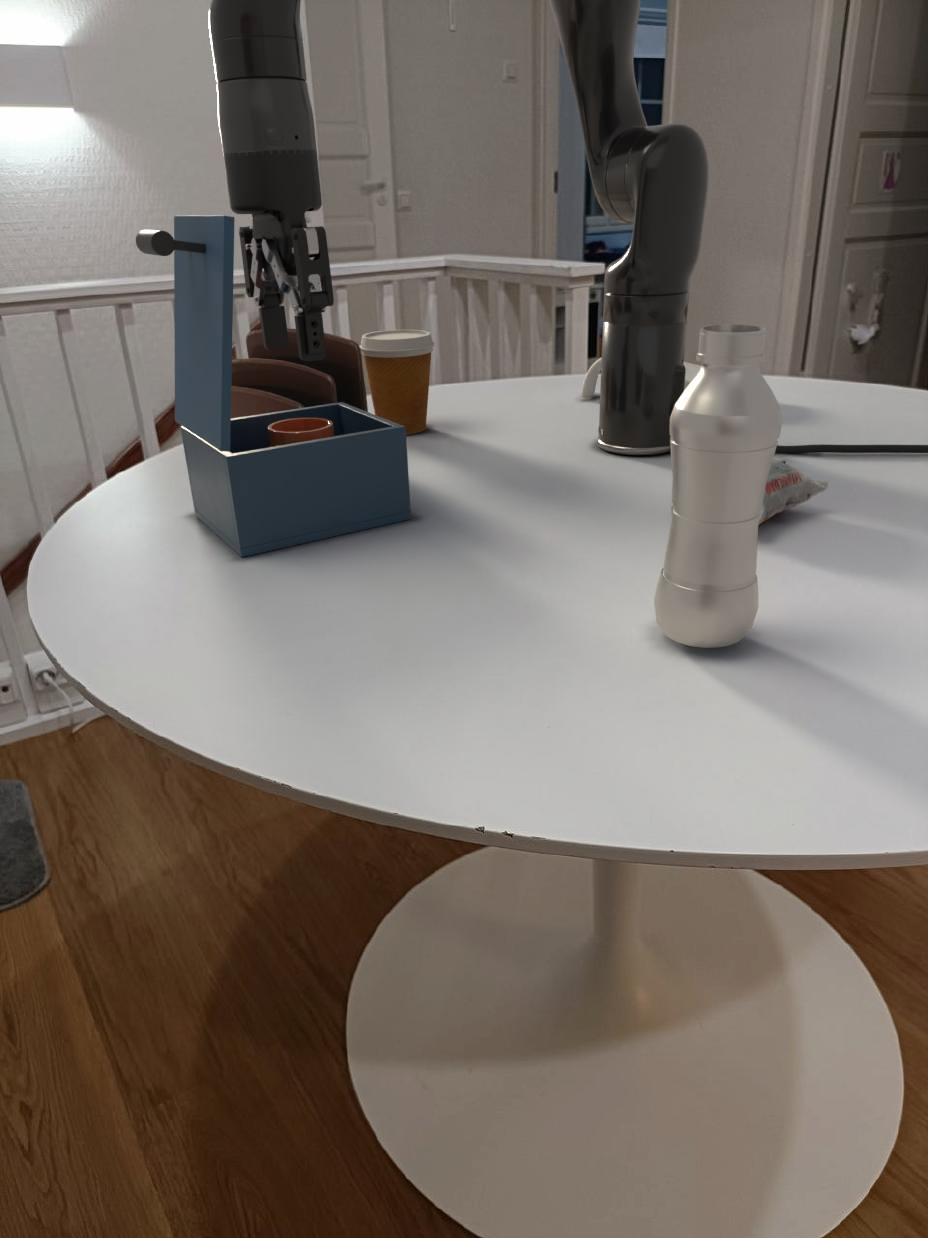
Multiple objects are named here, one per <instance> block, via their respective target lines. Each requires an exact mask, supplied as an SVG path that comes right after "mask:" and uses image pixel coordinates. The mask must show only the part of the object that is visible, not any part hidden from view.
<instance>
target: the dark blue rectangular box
mask: <svg viewBox="0 0 928 1238" xmlns="http://www.w3.org/2000/svg"><path fill="white" fill-rule="evenodd" d="M294 418H323V419H327V420H330V421H332V423H333V428H334V437H328V438H322V439H316V440H310V441H304V442H298V443H292V444H286V445H281V446H275V447H270V442H269V435H268V426H269V425H270V424H272V423H275V422H278V421H281V420H287V419H294ZM179 428H180V433H181V439H182V446H183V452H184V457H185V462H186V469H187V474H188V480H189V488H190V493H191V499H192V504H193V508H194V516H195V517H196V518H197V519H198V520H200V521H201V522H202V523H203V524H204V525H205V526H206V527H208V529H210V530H211V531H212V532H213V533H214V534H215V535H216V536H217V537H219V539H221V540H222V541H223V542H224V543H225V544H226V545H227V546H228V547H229V548H231V550H233V551H234V552H235V553H236V554H237V555H238V556H239V557H241V558H244V557H249V556H253V555H258V554H263V553H266V552H272V551H275V550H280V549H284V548H289V547H294V546H298V545H301V544H303V545H304V544H307V543H311V542H316V541H320V540H324V539H329V538H333V537H337V536H342V535H346V534H350V533H355V532H360V531H364V530H369V529H373V528H377V527H382V526H386V525H390V524H394V523H395V524H396V523H399V522H404V521H408V520H411V519H412V514H411V511H412V510H411V509H412V508H411V494H410V493H411V492H410V478H409V477H410V476H409V462H408V461H409V460H408V459H409V458H408V443H407V435H406V427H405V426H403V425H400V424H397V423H394V422H392V421H389V420H387V419H384V418H382V417H379V416H376V415H375V413H372V412H369V411H368V412H366V411H364V410H361V409H358V408H356V407H353V406H351V405H348V404H346V403H343V402H339V403H332V404H326V405H319V406H312V407H306V408H299V409H292V410H286V411H279V412H272V413H266V414H259V415H252V416H245V417H239V418H232V419H231V438H230V451H220V450H218V449H217V448H215V447H214V446H212V445H210V444H209V443H207V442H206V441H204V440H203V439H201V438H200V437H198V436H197V435H195V434H194V433H192V432H191V431H189V430H188V429H186V428H185V427H183V426H182V425H180V427H179Z"/></svg>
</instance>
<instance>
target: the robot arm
mask: <svg viewBox="0 0 928 1238" xmlns="http://www.w3.org/2000/svg"><path fill="white" fill-rule="evenodd" d="M301 1H302V0H211V1H210V4H209V9H208V29H209V38H210V45H211V51H212V57H213V58H212V59H213V66H214V74H215V81H216V83H217V84H216V92H217V93H216V94H217V121H218V128H219V135H220V143H221V150H222V157H223V164H224V171H225V176H226V177H225V178H226V185H227V194H228V200H229V206H230V210H231V212H233V213H234V214H236V215H251V217H252V225H247V226H240V227H239V229H238V236H239V243H240V250H241V260H242V267H243V276H244V285H245V293H246V295H247V297H248V298H253V299H252V300H253V302H254V304H255V306H256V307H258V313H259V321H260V328H261V329H262V336H263V344H264V347H265V348H266V349H269V350H277V349H285V348H287V347H288V345H289V341H288V332H287V328H288V325H287V317H286V316H287V315H286V308H285V305H282V304H284V302H285V301H284V300H285V295H287V296H288V300H289V302H290V304H291V307H292V310H293V313H294V315H293V316H294V317H293V318H294V324H295V325H294V326H295V329H296V335H297V343H298V352H299V357H300V359H301V360H304V361H307V362H308V361H315V360H322V359H324V358H325V356H326V348H325V338H324V333H325V330H324V321H323V313H325V312H326V309H327V307H332V306H334V303H335V299H334V298H335V297H334V289H333V281H332V273H331V264H330V257H329V249H328V248H329V247H328V239H327V233H326V229H325V227H324V226H323V225H322V226H319V225H318V226H308V224H307V220H306V217H305V216H306V212H316V211H319V210H320V209H321V208H322V205H323V200H322V189H321V179H320V171H319V169H320V168H319V160H318V159H319V158H318V152H317V151H318V150H317V139H316V128H315V120H314V112H313V107H312V102H311V99H310V93H309V87H308V82H307V68H306V58H305V50H304V42H303V41H304V39H303V33H302V25H301V3H302V2H301ZM641 3H642V0H548V4H549V6H550V10H551V13H552V16H553V19H554V22H555V23H554V24H555V26H556V30H557V34H558V38H559V41H560V45H561V50H562V53H563V56H564V61H565V65H566V67H567V72H568V75H569V80H570V83H571V87H572V90H573V94H574V99H575V102H576V107H577V112H578V113H577V114H578V118H579V122H580V128H581V134H582V138H583V144H584V149H585V155H586V161H587V165H588V170H589V171H588V172H589V175H590V180H591V185H592V188H593V191H594V195H595V197H596V200H597V202H598V205H599V206H600V208H601V209H602V211H603V213H605V214H606V215H607V216H608V217H609V218H610V219H612V220H613V221H614V222H615V221H616V222H618V223H622V224H629V225H631V224H633V227H632V235H631V241H630V244H629V246H628V248H627V250H626V251H625V252H624V253H623V255H622V256H620V257H619V258H617V259H616V260H614V261H612V262H610V263H609V264H608V265H607V267H606V268H605V271H604V279H603V280H604V283H603V310H602V311H603V312H602V313H603V314H602V337H601V338H602V339H601V357H602V361H601V371H600V391H599V416H598V417H599V418H598V436H597V447H599V448H600V449H602V450H604V451H606V452H610V453H614V454H619V455H627V456H653V455H661V454H665V453H671V447H670V437H671V436H670V416H671V414H672V411H673V408H674V406H675V403H676V402H677V400H678V399H679V397H680V396H681V394H682V393H683V391H684V386H685V373H686V368H685V366H684V362H685V352H686V338H687V326H688V325H687V324H688V312H689V311H688V310H689V299H690V289H691V288H690V287H691V278H692V275H693V273H694V270H695V268H696V266H697V263H698V260H699V257H700V252H701V246H702V238H703V230H704V222H705V216H706V208H707V200H708V190H709V177H710V171H709V169H710V167H709V158H708V151H707V147H706V145H705V142H704V139H703V137H701V135H700V133H699V132H698V131H697V130H696V129H694V128H693V127H692V126H690V125H688V124H684V123H665V124H657V125H656V124H655V125H648V123H647V121H646V117H645V115H644V111H643V107H642V103H641V100H640V95H639V90H638V87H637V82H636V76H635V63H634V60H635V59H634V58H635V45H636V44H635V43H636V37H637V30H638V25H639V24H638V23H639V17H640V11H641ZM261 329H260V330H261ZM815 453H818V454H819V453H820V454H821V453H827V454H828V453H829V454H830V453H831V454H832V453H833V454H928V444H823V443H821V444H802V445H801V444H798V445H778V444H777V447H776V450H775V454H785V455H793V454H794V455H795V454H815Z"/></svg>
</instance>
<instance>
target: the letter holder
mask: <svg viewBox="0 0 928 1238" xmlns="http://www.w3.org/2000/svg"><path fill="white" fill-rule="evenodd" d="M287 332H288V341H289V345H288V347H287V348H285V349H277V350H269V349H266V348H265V347H264V344H263V336H262V329H256V330H251V331H248V332H247V334H246V336H245V345H246V352H247V358H234V359H232V383H231V419H232V418H239V417H245V416H252V415H259V414H266V413H272V412H279V411H286V410H292V409H299V408H306V407H312V406H319V405H326V404H332V403H339V402H343V403H346V404H348V405H351V406H353V407H356V408H358V409H361V410H364V411H366V412H369V408H368V407H369V406H368V398H367V389H366V383H365V375H364V367H363V366H364V365H363V354H362V352H361V349H360V347H359V346H360V344H359V343H358V342H356V341H354V340H352V339H349V338H347V337H343V336H340V335H337V334H331V333H327V332H324V338H325V348H326V356H325V358H324V359H322V360H315V361H308V362H307V361H304V360H301V359H300V357H299V352H298V343H297V335H296V328H290V327H287Z"/></svg>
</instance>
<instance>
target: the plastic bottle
mask: <svg viewBox="0 0 928 1238" xmlns="http://www.w3.org/2000/svg"><path fill="white" fill-rule="evenodd" d="M767 334H768V333H767V328H766V327H765V326H762V325H753V324H740V323H739V324H737V323H735V324H733V323H732V324H730V323H729V324H727V323H726V324H725V323H724V324H711V325H706V326H702V327H701V328H700V331H699V338H698V339H699V340H698V351H696V357H695V360H696V362H698V363H700V366H701V368H700V372H699V373H698V374H697V375H696V376H695V378H694V379H693V380H692V381H691V382H690V384H689V385H688V386H687V387H686V389H685V390H684V391H683V393H682V394H681V396H680V397H679V399H678V400H677V402H676V403H675V406H674V408H673V411H672V414H671V416H670V436H671V437H670V447H671V452H670V462H671V475H672V476H671V477H672V480H671V481H672V482H671V503H672V506H671V512H670V513H671V514H670V515H671V516H670V526H669V532H668V537H667V543H666V548H665V549H666V551H665V554H664V560H663V567H662V569H661V570H660V574H659V576H658V580H657V584H656V589H655V593H654V597H653V606H654V614H655V620H656V623H657V625H658V627H659V628H660V630H661V632H662V634H664V635H665V637H667V638H669V639H670V640H672V641H674V642H676V643H677V644H679V643H680V644H682V645H685V646H689V647H695V648H706V649H714V648H715V649H716V648H723V647H728V646H732V645H734V644H737V643H738V642H740V641H741V640H742V639H743V638H744V637H745V636H746V635H747V634H748V633H749V632H750V631H751V630H752V628H753V626H754V623H755V619H756V616H757V613H758V611H759V582H758V575H757V561H758V558H757V557H758V539H759V538H758V537H759V525H760V524H759V519H760V514H761V512H760V508H761V506H762V503H763V498H764V492H765V487H766V482H767V478H768V475H769V471H770V468H771V464H772V461H773V459H774V457H775V455H776V453H775V450H776V447H777V445H778V443H779V441H778V440H779V439H780V436H781V432H782V427H783V416H782V411H781V405H780V403H779V401H778V399H777V397H776V396H775V394H774V392H773V390H772V388H771V387H770V384H768V381H766V379H765V377H764V376H763V375H762V372H761V367H760V364H763V363H766V360H767V352H766V341H767Z"/></svg>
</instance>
